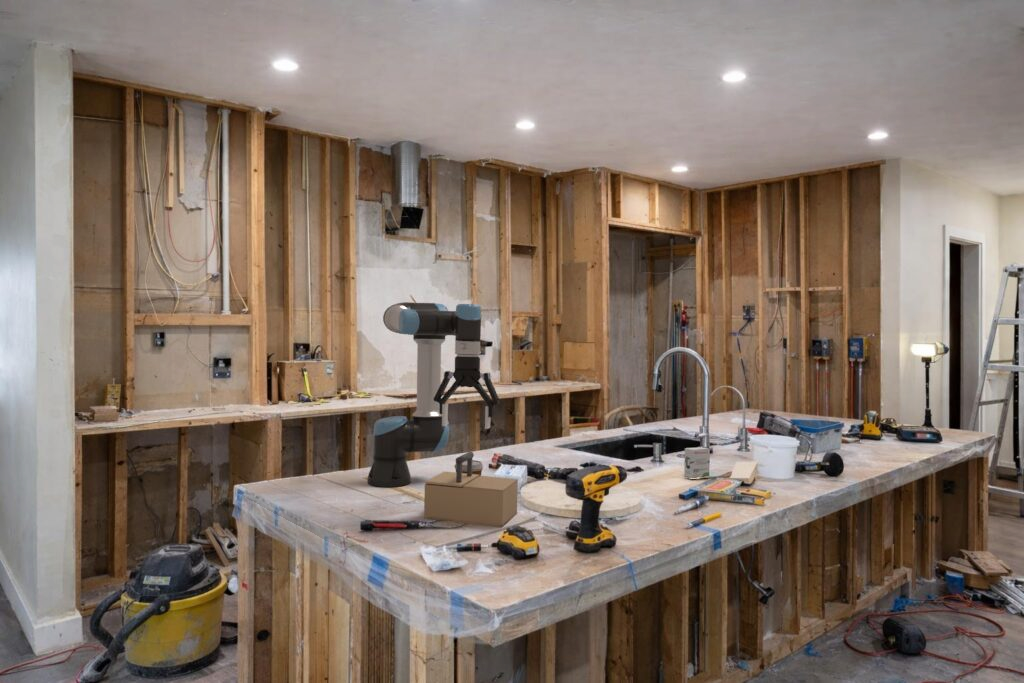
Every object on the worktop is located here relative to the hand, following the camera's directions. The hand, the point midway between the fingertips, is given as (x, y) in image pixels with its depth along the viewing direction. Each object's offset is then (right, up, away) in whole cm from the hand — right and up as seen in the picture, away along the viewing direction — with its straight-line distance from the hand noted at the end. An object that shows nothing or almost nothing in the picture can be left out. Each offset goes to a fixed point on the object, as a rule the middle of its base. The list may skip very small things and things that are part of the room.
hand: (465, 426), depth 204 cm
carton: (+2, -27, 0) cm, 27 cm away
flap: (-4, -16, +1) cm, 17 cm away
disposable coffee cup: (-1, -26, +20) cm, 33 cm away
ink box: (+85, -28, +61) cm, 108 cm away
